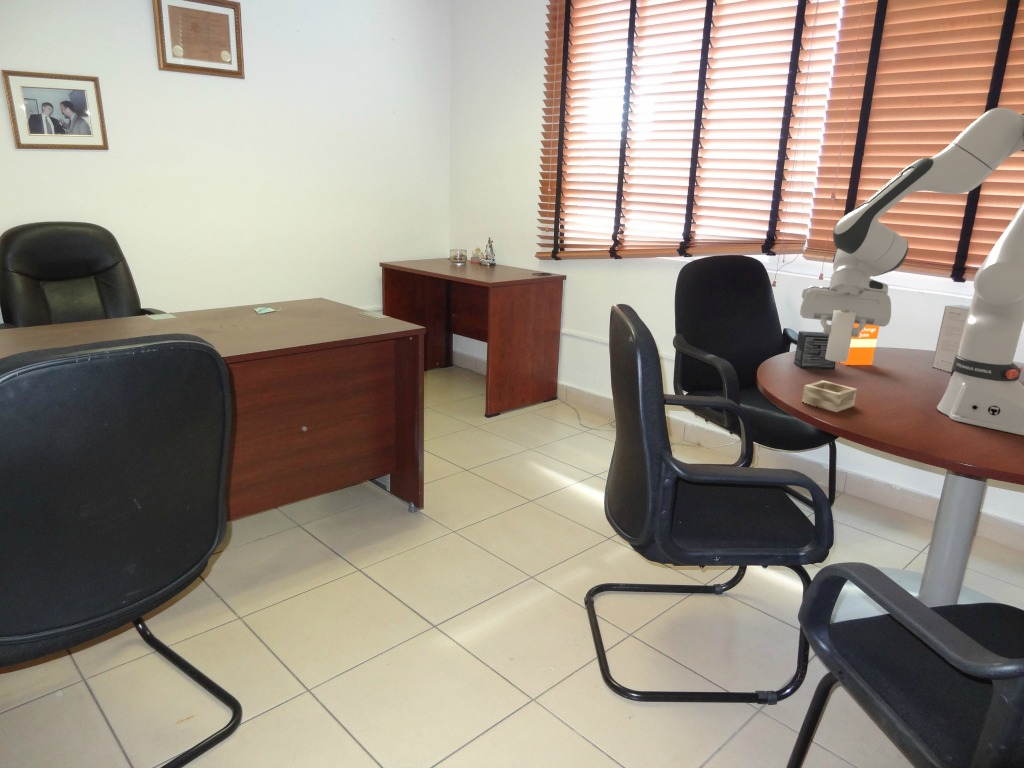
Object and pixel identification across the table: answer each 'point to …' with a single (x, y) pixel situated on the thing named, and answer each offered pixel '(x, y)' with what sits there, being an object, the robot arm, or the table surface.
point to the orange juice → (863, 346)
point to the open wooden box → (829, 395)
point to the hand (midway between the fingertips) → (840, 334)
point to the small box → (812, 351)
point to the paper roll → (840, 335)
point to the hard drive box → (950, 336)
